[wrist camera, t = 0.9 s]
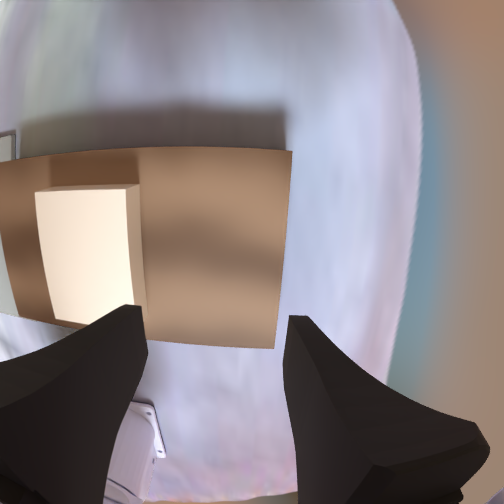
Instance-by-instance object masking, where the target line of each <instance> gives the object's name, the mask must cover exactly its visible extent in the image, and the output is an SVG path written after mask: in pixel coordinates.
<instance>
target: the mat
mask: <svg viewBox="0 0 504 504" xmlns="http://www.w3.org/2000/svg"><path fill="white" fill-rule="evenodd" d="M10 160H15V135H10V136H5V137H1V138H0V162H5V161H10ZM0 313H4V314H8V315H12V316H16V317H19V314H18V311H17V307H16V304H15V300H14V297H13V293H12V289H11V285H10V281H9V276H8V272H7V267H6V263H5V258H4V252H3V247H2V241H1V235H0ZM20 318H23V317H20ZM24 319H27V318H24ZM28 320H32V319H28ZM32 321H36V320H32Z"/></svg>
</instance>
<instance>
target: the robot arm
mask: <svg viewBox="0 0 504 504" xmlns="http://www.w3.org/2000/svg"><path fill="white" fill-rule="evenodd" d="M147 356H148V349H147V342H146V336H145V329H144V322H143V314H142V306H139V305H130V304H124V305H122V306H120V307H118V308H116V309H114V310H113V311H111V312H109V313H108V314H106V315H104V316H102V317H101V318H99V319H97V320H96V321H94V322H92V323H91V324H89V325H87V326H86V327H84V328H82V329H80V330H78V331H76V332H75V333H73V334H71V335H69V336H67V337H65V338H63V339H62V340H60V341H58V342H56V343H53V344H51V345H49V346H47V347H44V348H42V349H39V350H37V351H35V352H32V353H29V354H26V355H23V356H20V357H16V358H13V359H10V360H7V361H3V362H0V504H142V503H143V501H144V500H145V499H146V497H147V495H148V492H149V487H150V483H151V479H152V475H153V471H154V467H155V463H156V459H157V457H160V458H165V457H166V452H165V448H164V445H163V441H162V438H161V434H160V430H159V427H158V423H157V419H156V415H155V411H154V408H153V407H152V406H151V405H148V404H142V403H136V402H131V400H132V398H133V396H134V393H135V391H136V389H137V386H138V384H139V382H140V379H141V377H142V374H143V371H144V367H145V364H146V360H147ZM283 380H284V391H285V396H286V401H287V407H288V412H289V417H290V422H291V427H292V432H293V438H294V444H295V451H296V465H297V484H298V504H459V502H461V501H462V500H463V494H462V492H461V490H460V488H461V487H462V486H463V485H464V484H465V483H466V482H467V481H468V480H469V479H470V478H471V477H472V476H473V475H474V474H475V473H476V472H477V471H478V470H479V469H480V468H481V467H482V465H483V464H484V463H485V461H486V460H487V458H488V456H489V453H490V446H489V445H488V443H487V441H486V440H485V438H484V436H483V435H482V433H481V431H480V430H479V428H478V426H477V425H476V423H474V422H471V421H467V420H464V419H460V418H457V417H453V416H450V415H447V414H444V413H441V412H439V411H436V410H433V409H431V408H429V407H426V406H424V405H421V404H419V403H417V402H415V401H413V400H411V399H409V398H407V397H405V396H403V395H402V394H400V393H398V392H396V391H394V390H393V389H391V388H389V387H388V386H386V385H385V384H383V383H381V382H380V381H379V380H377V379H376V378H374V377H373V376H371V375H370V374H369V373H367V372H366V371H365V370H363V369H362V368H361V367H359V366H358V365H357V364H356V363H355V362H353V361H352V360H351V359H350V358H349V357H348V356H347V355H345V354H344V353H343V352H342V351H341V350H340V349H339V348H338V347H337V346H336V345H335V344H334V343H333V342H332V341H331V340H330V339H329V338H328V337H327V336H326V335H325V334H324V333H323V332H322V331H321V330H320V329H319V328H318V326H317V325H316V324H315V323H314V322H313V321H312V320H311V319H310V318H309V317H308V316H298V315H289V321H288V328H287V335H286V343H285V350H284V357H283ZM484 504H504V488H502V489H501V490H499V491H498V492H497V493H496V494H495V495H494V496H492V497H491V498H490V499H489V501H488V502H486V503H484Z"/></svg>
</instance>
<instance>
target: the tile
mask: <svg viewBox="0 0 504 504" xmlns="http://www.w3.org/2000/svg"><path fill="white" fill-rule="evenodd" d="M35 203H36V214H37V223H38V232H39V239H40V246H41V252H42V258H43V264H44V270H45V275H46V280H47V285H48V289H49V294H50V298H51V302H52V306H53V310H54V314H55V318H56V319H60V320H65V321H71V322H76V323H82V324H88V325H89V324H91V323H92V322H94V321H96V320H97V319H99V318H101V317H102V316H104V315H106V314H108V313H109V312H111V311H113V310H114V309H116V308H118V307H120V306H122V305H124V304H130V305H139V306H142V314H143V322H144V321H145V319H146V317H147V315H148V309H147V300H146V291H145V280H144V269H143V255H142V239H141V218H140V184H107V185H77V186H57V187H51V188H47V189H44V190H41V191H37V192H35Z"/></svg>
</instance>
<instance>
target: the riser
mask: <svg viewBox="0 0 504 504" xmlns="http://www.w3.org/2000/svg"><path fill="white" fill-rule="evenodd" d="M291 165H292V151H287V150H274V149H258V148H238V147H198V146H176V147H137V148H117V149H102V150H90V151H79V152H69V153H60V154H51V155H43V156H36V157H29V158H23V159H16V160H10V161H5V162H0V235H1V241H2V247H3V252H4V258H5V263H6V267H7V272H8V276H9V281H10V285H11V289H12V293H13V297H14V300H15V304H16V307H17V311H18V314H19V317H23V318H27V319H32V320H36V321H41V322H45V323H50V324H55V325H60V326H65V327H70V328H75V329H82V328H84V327H86V326H87V325H88V324H82V323H76V322H71V321H65V320H60V319H56V318H55V314H54V310H53V306H52V302H51V298H50V294H49V289H48V285H47V280H46V275H45V270H44V264H43V258H42V252H41V246H40V239H39V232H38V223H37V214H36V203H35V192H37V191H41V190H44V189H47V188H51V187H57V186H77V185H107V184H140V218H141V239H142V255H143V269H144V280H145V291H146V300H147V309H148V315H147V317H146V319H145V321H144V329H145V336H146V339H147V340H156V341H165V342H174V343H184V344H196V345H208V346H222V347H239V348H263V349H274V345H275V336H276V328H277V319H278V310H279V300H280V291H281V281H282V271H283V261H284V250H285V239H286V228H287V216H288V204H289V192H290V178H291Z"/></svg>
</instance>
